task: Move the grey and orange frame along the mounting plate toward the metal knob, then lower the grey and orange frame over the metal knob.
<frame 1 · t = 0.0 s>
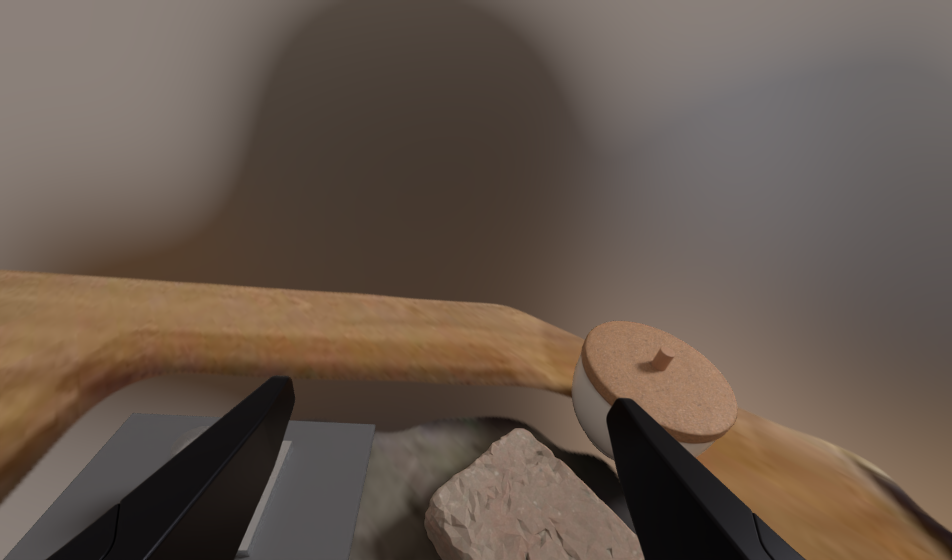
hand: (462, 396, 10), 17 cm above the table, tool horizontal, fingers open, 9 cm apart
metal knob: (219, 494, 20), resting on mounting plate
lidded jar: (616, 431, 30), on the table
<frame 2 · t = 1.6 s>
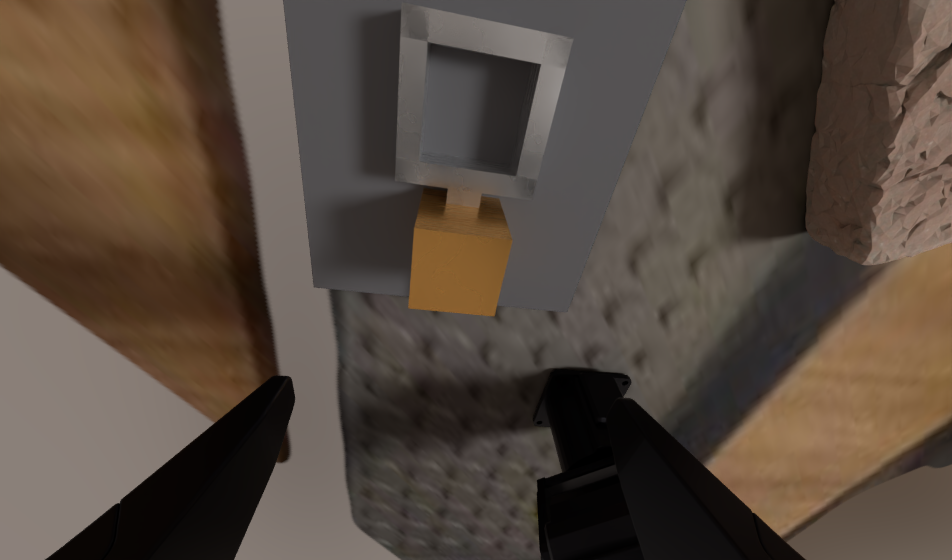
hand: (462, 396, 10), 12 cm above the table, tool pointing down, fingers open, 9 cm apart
grey and orange frame: (456, 228, 19), point 1 cm above the table, touching mounting plate
brick: (892, 63, 17), on the table
mounting plate: (480, 58, 15), on the table
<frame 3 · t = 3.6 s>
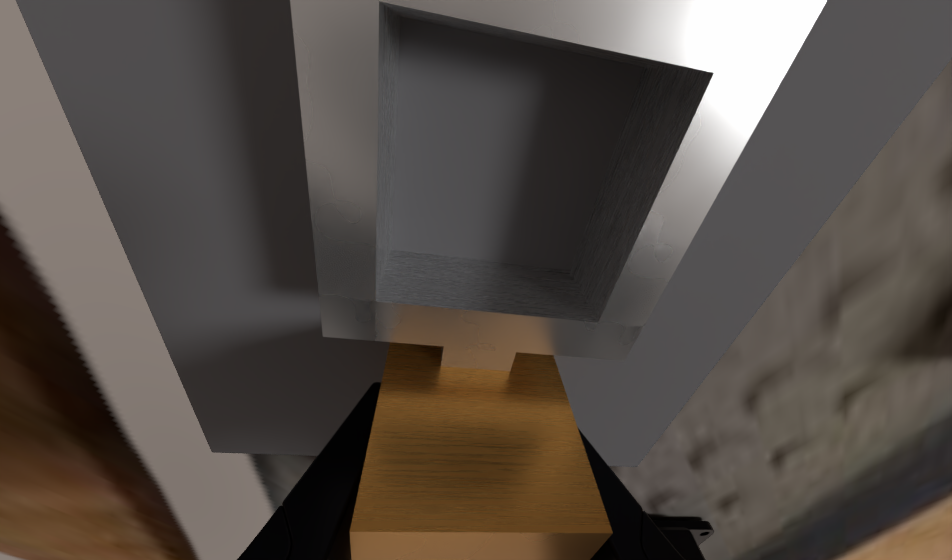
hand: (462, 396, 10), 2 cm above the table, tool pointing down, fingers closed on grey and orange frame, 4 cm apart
grey and orange frame: (461, 368, 10), point 1 cm above the table, touching gripper, mounting plate
mounting plate: (520, 56, 7), on the table
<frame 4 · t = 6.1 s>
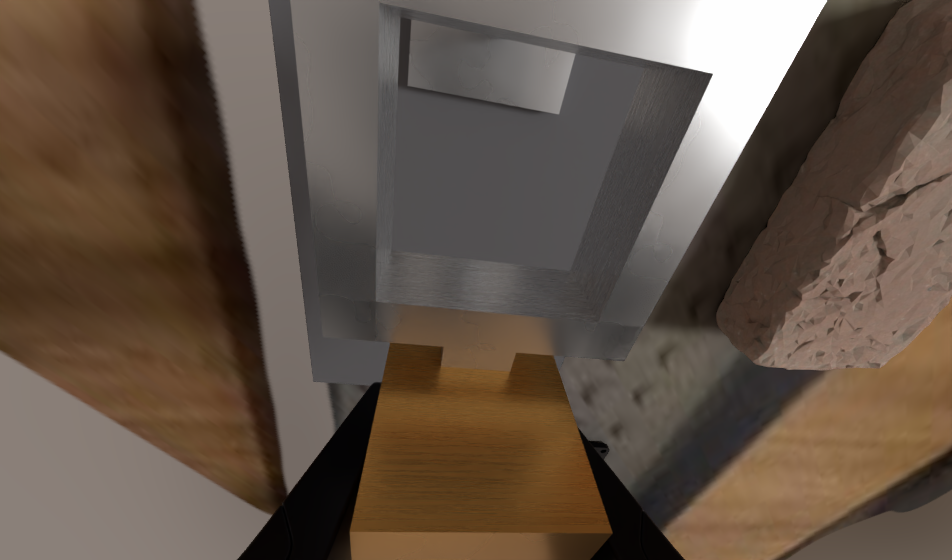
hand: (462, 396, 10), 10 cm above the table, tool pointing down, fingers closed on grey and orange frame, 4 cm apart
grey and orange frame: (461, 369, 10), point 9 cm above the table, touching gripper
brick: (836, 201, 19), on the table
metal knob: (499, 6, 13), resting on mounting plate
mounting plate: (464, 208, 17), on the table
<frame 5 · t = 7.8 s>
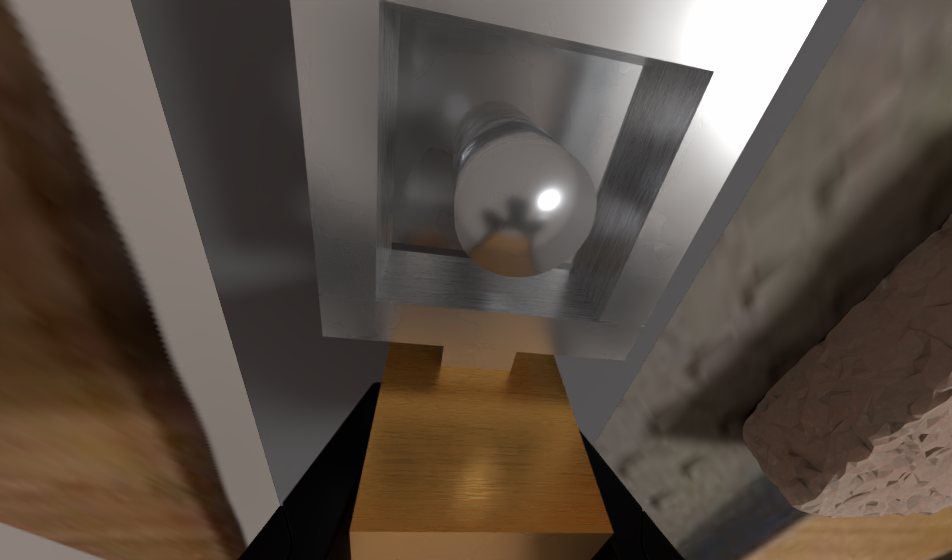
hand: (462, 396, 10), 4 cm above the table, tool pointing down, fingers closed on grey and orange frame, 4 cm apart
grey and orange frame: (461, 368, 10), point 3 cm above the table, touching gripper
brick: (904, 316, 15), on the table
metal knob: (490, 139, 9), resting on mounting plate
mounting plate: (452, 342, 14), on the table
when the fingers open (3 cm above the table, at t = 8.9 s): grey and orange frame stays where it is, resting on metal knob, mounting plate.
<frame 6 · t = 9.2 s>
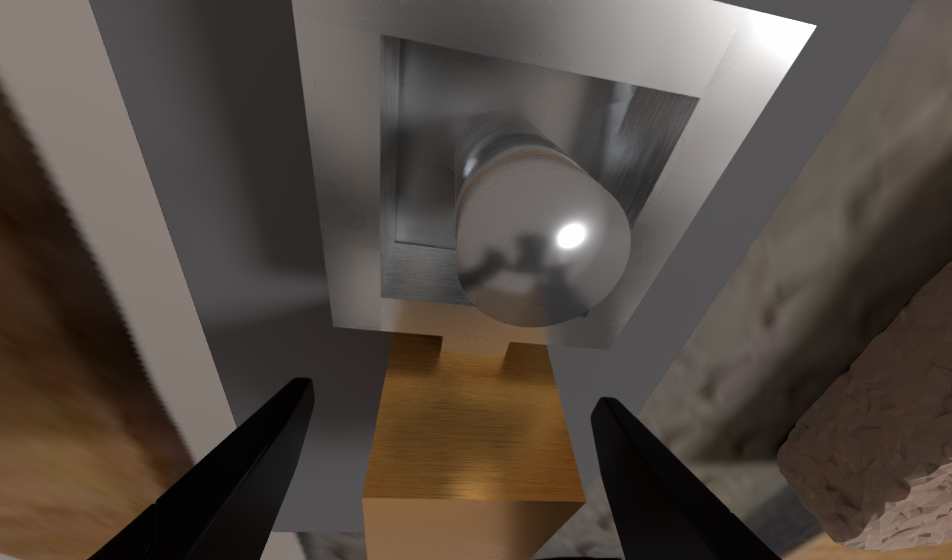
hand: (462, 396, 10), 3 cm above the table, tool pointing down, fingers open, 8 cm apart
grey and orange frame: (460, 348, 11), point 1 cm above the table, tilted 6°, touching metal knob, mounting plate
brick: (938, 335, 15), on the table
metal knob: (495, 152, 8), resting on mounting plate
mounting plate: (452, 364, 13), on the table
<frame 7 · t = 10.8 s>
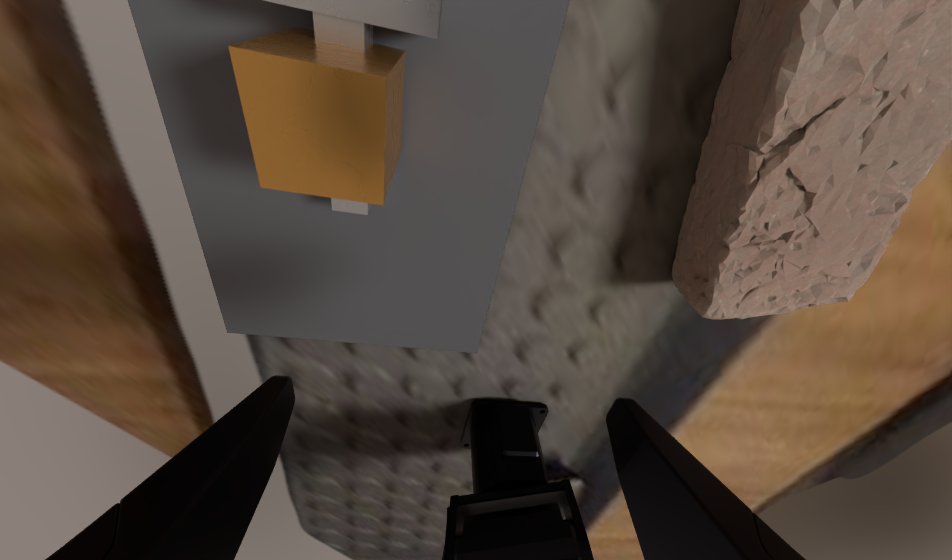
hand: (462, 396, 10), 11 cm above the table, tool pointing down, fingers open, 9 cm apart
grey and orange frame: (354, 96, 14), point 1 cm above the table, tilted 6°, touching metal knob, mounting plate
brick: (768, 138, 18), on the table
mounting plate: (359, 138, 16), on the table
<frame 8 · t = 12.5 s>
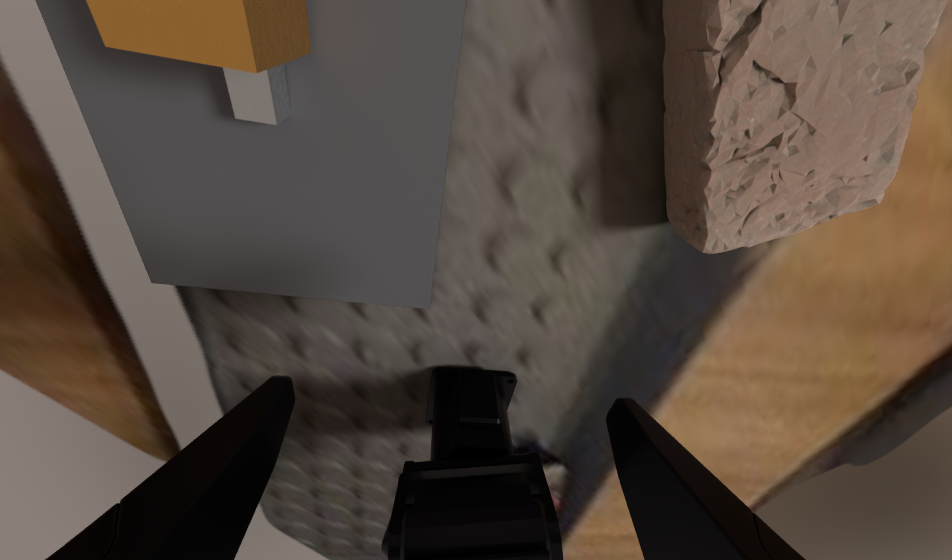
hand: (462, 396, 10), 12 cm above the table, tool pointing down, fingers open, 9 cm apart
brick: (740, 41, 16), on the table
mounting plate: (268, 41, 15), on the table
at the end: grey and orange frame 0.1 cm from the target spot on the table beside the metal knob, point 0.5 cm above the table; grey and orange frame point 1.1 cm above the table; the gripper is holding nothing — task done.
